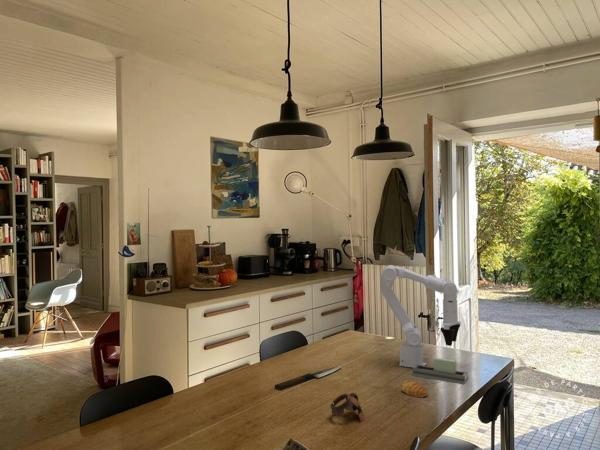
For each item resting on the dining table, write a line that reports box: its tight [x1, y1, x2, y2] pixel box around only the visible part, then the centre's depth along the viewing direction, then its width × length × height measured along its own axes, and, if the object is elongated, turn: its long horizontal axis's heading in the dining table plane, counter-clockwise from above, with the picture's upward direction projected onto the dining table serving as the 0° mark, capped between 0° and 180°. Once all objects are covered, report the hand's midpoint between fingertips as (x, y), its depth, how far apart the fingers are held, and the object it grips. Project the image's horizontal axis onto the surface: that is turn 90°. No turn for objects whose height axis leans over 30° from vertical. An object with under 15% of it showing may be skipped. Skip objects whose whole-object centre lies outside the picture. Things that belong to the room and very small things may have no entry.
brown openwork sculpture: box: [330, 392, 365, 423], centre depth 144 cm, size 12×10×8 cm
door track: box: [411, 365, 469, 385], centre depth 180 cm, size 20×8×2 cm, turn 58°
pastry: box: [401, 379, 428, 398], centre depth 163 cm, size 9×7×4 cm
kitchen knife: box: [274, 366, 342, 391], centre depth 180 cm, size 36×2×5 cm
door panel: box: [433, 357, 457, 374], centre depth 179 cm, size 8×2×6 cm, turn 58°
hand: (451, 343), depth 191 cm, fingers open, 7 cm apart
